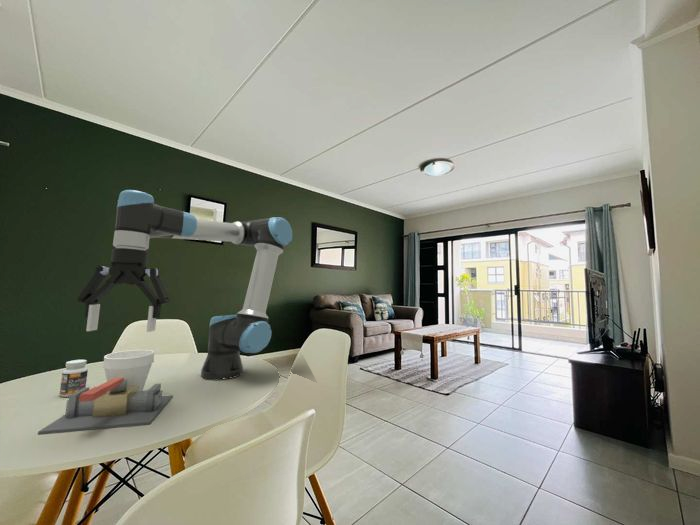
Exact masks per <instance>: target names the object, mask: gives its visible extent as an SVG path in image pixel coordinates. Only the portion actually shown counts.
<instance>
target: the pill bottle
mask: <svg viewBox="0 0 700 525" xmlns="http://www.w3.org/2000/svg"><path fill="white" fill-rule="evenodd" d="M87 362H88V360H86V359H74V360H70V361H66V362H65V369H64V370H63V371H62V373H61V381H60V387H59V388H60V389H59V396H60V397H63V398H69V395H71V394H73V393H75V392H76V391H78V390H80V389H82V388H87V381H88V380H87V379H88V371H89V370H88V367H86V365H87Z"/></svg>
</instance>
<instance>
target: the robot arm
mask: <svg viewBox="0 0 700 525" xmlns="http://www.w3.org/2000/svg"><path fill="white" fill-rule="evenodd" d="M114 227H115V228H114V232H113V233H114V234H113V240H112V241H113V242H112V246H113V247H115V248H113V249H112V250H111V256H110V257H111V258H110V262H111V265H110V267H107V266H105V265H104V266H102V265H97V266H96V267H95V271H94V274H93V275H92V277H91V278H90V280H89V281H88V283H87V284H86V285H85V287H84V288H83V290H82V291H81V293H80V294H78V297H77V299H76V301H77V302H81V303H83V304H85V309H84V310H85V312H84V318H87V322H86V330H85V331H86V332H93V331H97V330H98V326H99V316H100V311H101V304H100V303H99V301H101V300H102V299H103V298H104V297H105V296H106V295H107V294H109V292H110V291H112V290H113V288H115V287H116V286H118V285H135V286H137V287H138V288H139V289H140V291H141V292H142V293H143V294H144V295H145V297H146V299H148V300H149V302H150V303H151V304H152V305H149V306H148V316H147V322H146V332H147V333H149V332H150V333H151V332H153V331H156V325H157V319H159V318H160V317H161V312H162V311H161V309H162V306H163V305H167V304H169V303H170V302H171V300H170V298H169V295H168V294H167V290H166V288H165V286H164V284H163V282H162V279H161V277H160V276H161V275H160V269H159V268H154V267H151V268H147V265H148V259H149V258H148V257H149V256H148V255H149V253H148V251H147V250H149V247H150V239H155V238H158V239H178V240H179V239H180V240H194V241H196V240H198V241H214V242H215V241H216V242H231V243H232V244H234V245H242V246H250V247H254V249H256V255H255V259H254V261H253V265H252V270H251V274H250V278H249V283H248V287H247V290H246V294H245V298H244V301H243V302H244V303H243V306H242V309H241V310H240V311H238V312H237V313H236V314H230V315H216V316H213V317H211V319H210V322H209V326H208V328H209V330H208V343H207V344H208V345H207V355H206V358H205V360H204V363H203V365H202V367H201V370H200V371H201V372H200V378H202V377H203V378H202V379H204V378H206V379H205V380H209V379H222V380H224V379H223V378H229V379H231V378H230V377H234V376H237V375H239V376H241V375H242V374H243V373H242V372H244V366H243V361H242V358H241V355H240V354H241V353H240V352H243V353H247V354H256V353H260V352H261V351H262V350H264V349H265V348H266V347H267V346H268V345H269V343H270V341H271V339H272V329H271V325H270V324H269V323H268V322H269V316H268V315H267V308H268V304H269V299H270V296H271V290H272V285H273V280H274V276H275V273H276V269H277V263H278V260H279V259H278V258H279V256H280V255H281V254H284V249H285V246H287V245H288V244H290V243H291V242H292V240H293V229H292V227H291V224H290V223H289V221H288V220H286V218H284V217H280V216H279V217H278V216H277V217H274V216H272V217H269V218H261V219H255V220H247V221H238V220H237V221H234V222H225V221H218V220H217V221H216V220H207V219H198V218H197V217H196V216H195V215H194V214H192V213H190V212H185V211H184V210H183V211H182V210H180V209H175V208H170V207H166V206H162V205H158V204H156V203H155V200H154V196H153V195H151V194H149V193H148V192H143V191H140V190H134V189H125V190H122V191H121V192H120V193H119V196H118V200H117V205H116V217H115V225H114ZM109 274H110V277H109V278H108V279H107V280H105V282H104V283H103V285H101V284H102V282H103V281H104V279H105V278H106V276H107V275H109ZM146 275H147V276H148V277H149V278H150V281H151V283H152V286H153V287H154V290H153V288H151V286H150V285H149V284H148V282H147V280H146V279H145V276H146ZM241 373H242V374H241ZM240 374H241V375H240ZM237 377H238V376H237ZM234 378H235V377H234Z"/></svg>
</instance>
